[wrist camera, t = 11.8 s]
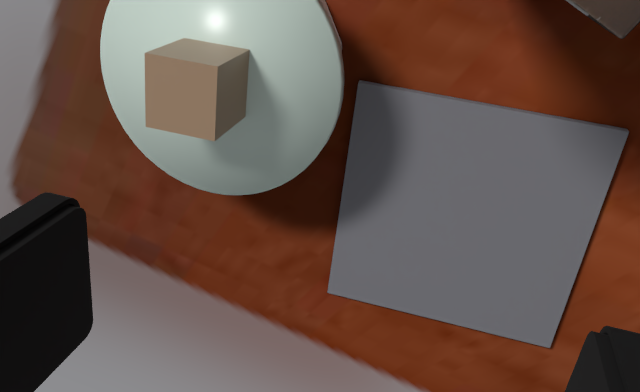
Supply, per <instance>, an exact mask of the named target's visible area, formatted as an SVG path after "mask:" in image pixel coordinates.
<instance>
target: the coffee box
mask: <svg viewBox="0 0 640 392" xmlns="http://www.w3.org/2000/svg"><path fill="white" fill-rule="evenodd" d="M566 1H567V2H568V3H570V4H571V5H573V6H574V7H575V8H577V9H578V10H579V11H581V12H582V13H583V14H585V15H586V16H588V17H589V18H591V19H592V20H593V21H595V22H596V23H598V24H599V25H601V26H602V27H603V28H605V29H606V30H608V31H609V32H611V33H612V34H614V35H616V36H617V37H619V38H621V39H623V38H625V37H626V36H627V34H628V33H629V32H630V31H631V30H632V29H633V28H634V27H635V26H636V25H637V24H638V23H639V22H640V0H566Z"/></svg>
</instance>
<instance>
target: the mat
mask: <svg viewBox="0 0 640 392" xmlns="http://www.w3.org/2000/svg"><path fill="white" fill-rule="evenodd" d="M628 134H629V131H628V129H625V128H620V127H614V126H609V125H603V124H598V123H592V122H587V121H581V120H576V119H570V118H565V117H559V116H554V115H548V114H543V113H537V112H532V111H526V110H521V109H515V108H510V107H504V106H499V105H493V104H488V103H482V102H477V101H471V100H466V99H460V98H455V97H449V96H444V95H438V94H433V93H427V92H422V91H416V90H411V89H405V88H400V87H395V86H389V85H384V84H378V83H373V82H367V81H362V80H360V81H359V82H358V88H357V95H356V102H355V109H354V115H353V122H352V129H351V136H350V143H349V149H348V156H347V163H346V170H345V177H344V183H343V190H342V197H341V204H340V210H339V217H338V224H337V231H336V238H335V244H334V251H333V258H332V265H331V272H330V278H329V285H328V292H327V293H330V294H334V295H338V296H342V297H346V298H350V299H354V300H358V301H362V302H366V303H370V304H374V305H378V306H382V307H386V308H390V309H394V310H398V311H402V312H406V313H410V314H414V315H418V316H422V317H427V318H431V319H435V320H439V321H443V322H447V323H451V324H455V325H459V326H463V327H467V328H471V329H475V330H479V331H483V332H487V333H491V334H495V335H499V336H503V337H507V338H511V339H515V340H519V341H523V342H527V343H531V344H535V345H539V346H543V347H547V348H550V346H551V343H552V341H553V338H554V335H555V333H556V330H557V327H558V324H559V322H560V319H561V316H562V313H563V311H564V308H565V305H566V303H567V300H568V297H569V294H570V292H571V289H572V286H573V284H574V281H575V278H576V275H577V273H578V270H579V267H580V264H581V262H582V259H583V256H584V254H585V251H586V248H587V245H588V243H589V240H590V237H591V234H592V232H593V229H594V226H595V224H596V221H597V218H598V215H599V213H600V210H601V207H602V205H603V202H604V199H605V196H606V194H607V191H608V188H609V185H610V183H611V180H612V177H613V175H614V172H615V169H616V166H617V164H618V161H619V158H620V156H621V153H622V150H623V147H624V145H625V142H626V139H627V136H628Z"/></svg>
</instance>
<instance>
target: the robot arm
mask: <svg viewBox="0 0 640 392" xmlns="http://www.w3.org/2000/svg"><path fill="white" fill-rule="evenodd" d="M91 297H92V296H91V283H90V268H89V252H88V237H87V222H86V213H85V211H84V209H82V208H80V205H79V203H78V201H77V200H75V199H74V198H70V197H65V196H61V195H57V194H53V193H46V192H45V193H43V194H40V195H39V196H37V197H36V198H34V199H32V200H31V201H29V202H27V203H26V204H24V205H22V206H21V207H19V208H17V209H16V210H14V211H12V212H11V213H9V214H7V215H6V216H4V217H2V218H1V219H0V392H34V391H35V390H36V389H37V388H38V387H39V386H40V385H41V384H42V383H43V382H44V381H45V380H46V379H47V378H48V377H49V375H50V374H51V373H52V372H53V371H54V370H55V369H56V368H57V367H58V366H59V365H60V364H61V363H62V362H63V361H64V360H65V359H66V358H67V357H68V356H69V355H70V354H71V353H72V352H73V351H74V350H75V349H76V348H77V346H79V345H80V343H82V341H83V340H84V339H85V338H86V337H87V336H88V334H89V332H90V330H91V327H92V324H93V312H92V298H91ZM565 392H640V334H639V333H635V332H631V331H627V330H622V329H618V328H614V327H610V326H605V327H603V329H602V330H601V331H600V333H597V332H593V331H591V332H590V333H589V334H588V335H587V338H586V340H585V342H584V345H583V347H582V350H581V352H580V355H579V357H578V360H577V362H576V365H575V367H574V370H573V372H572V375H571V377H570V380H569V382H568V385H567V388H566V390H565Z"/></svg>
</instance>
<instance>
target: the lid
mask: <svg viewBox="0 0 640 392" xmlns="http://www.w3.org/2000/svg"><path fill="white" fill-rule="evenodd" d="M100 57H101V67H102V74H103V79H104V83H105V88H106V91H107V94H108V97H109V100H110V103H111V105H112V107H113V109H114V111H115V114H116V116H117V118H118V120H119V121H120V123H121V125H122V126H123V128H124V130H125V131H126V133H127V134H128V135H129V137H130V138H131V140H132V141H133V142H134V144H135V145H136V146H137V147H138V148H139V149H140V150H141V151H142V152H143V154H144V155H145V156H146V157H147V158H149V159H150V160H151V161H152V162H153V163H154V164H155V165H157V166H158V167H159V168H161V169H162V170H163V171H165V172H166V173H168V174H169V175H170V176H172V177H174V178H176V179H178V180H179V181H181V182H183V183H185V184H188V185H190V186H192V187H195V188H197V189H201V190H204V191H208V192H211V193H217V194H223V195H248V194H256V193H260V192H264V191H268V190H271V189H273V188H276V187H278V186H281V185H283V184H284V183H286V182H288V181H290V180H292V179H293V178H295V177H296V176H297V175H298V174H300V173H301V172H302V171H304V170H305V169H306V168H307V167H308V166H309V165H310V164H311V163H312V162H313V161H314V159H315V158H316V157H317V155H318V154H319V153H320V151H321V150H322V149H323V147H324V146H325V144H326V143H327V142H328V140H329V138H330V136H331V134H332V132H333V130H334V128H335V126H336V123H337V120H338V117H339V114H340V110H341V105H342V101H343V93H344V64H343V58H342V53H341V47H340V43H339V40H338V37H337V34H336V31H335V28H334V26H333V24H332V21H331V19H330V17H329V15H328V13H327V11H326V9H325V8H324V6H323V4H322V3H321V1H320V0H110V2H109V5H108V7H107V10H106V14H105V17H104V21H103V25H102V33H101V43H100Z"/></svg>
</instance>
